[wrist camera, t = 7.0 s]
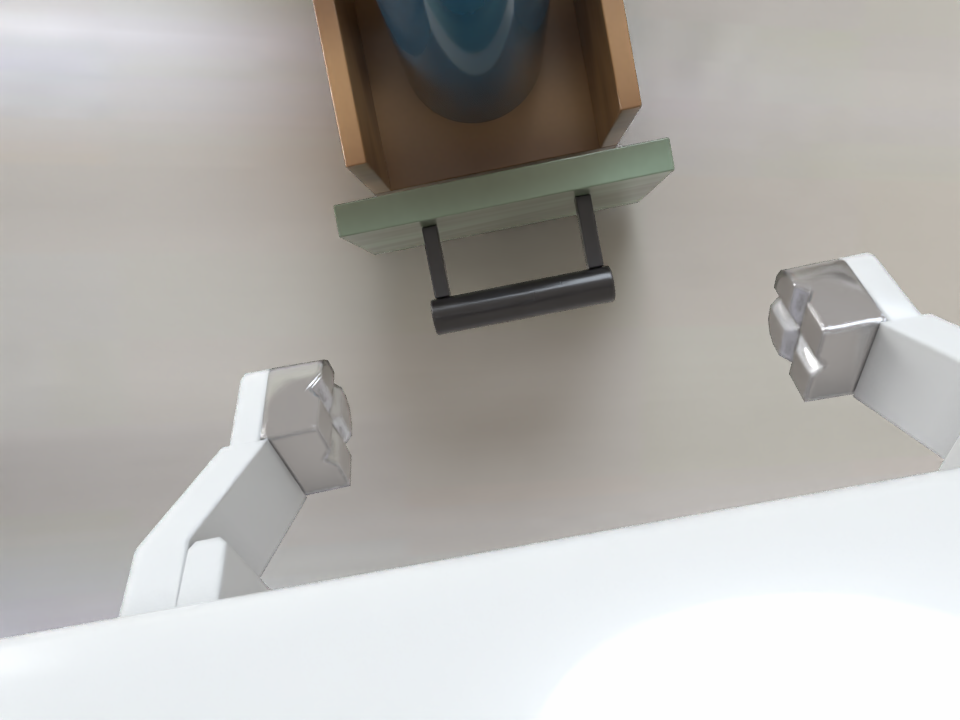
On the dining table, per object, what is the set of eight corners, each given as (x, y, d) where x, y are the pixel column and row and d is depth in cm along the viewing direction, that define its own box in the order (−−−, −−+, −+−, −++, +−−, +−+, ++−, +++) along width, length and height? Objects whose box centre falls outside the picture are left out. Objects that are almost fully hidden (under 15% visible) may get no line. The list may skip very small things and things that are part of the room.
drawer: (655, 293, 32) (695, 285, 25) (391, 343, 33) (361, 349, 26) (581, -121, 31) (601, -244, 24) (311, -61, 32) (258, -165, 25)
